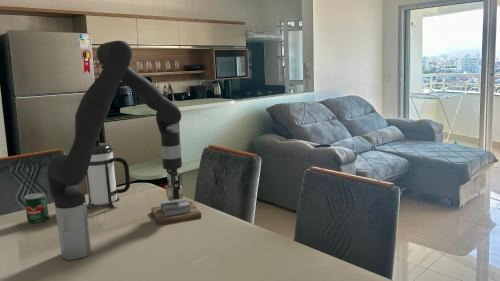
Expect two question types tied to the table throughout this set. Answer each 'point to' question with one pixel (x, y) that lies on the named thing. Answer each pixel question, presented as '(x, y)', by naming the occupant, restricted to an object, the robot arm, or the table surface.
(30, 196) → the canned tomato
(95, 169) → the coffee press
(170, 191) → the maple block
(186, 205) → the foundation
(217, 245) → the table surface
